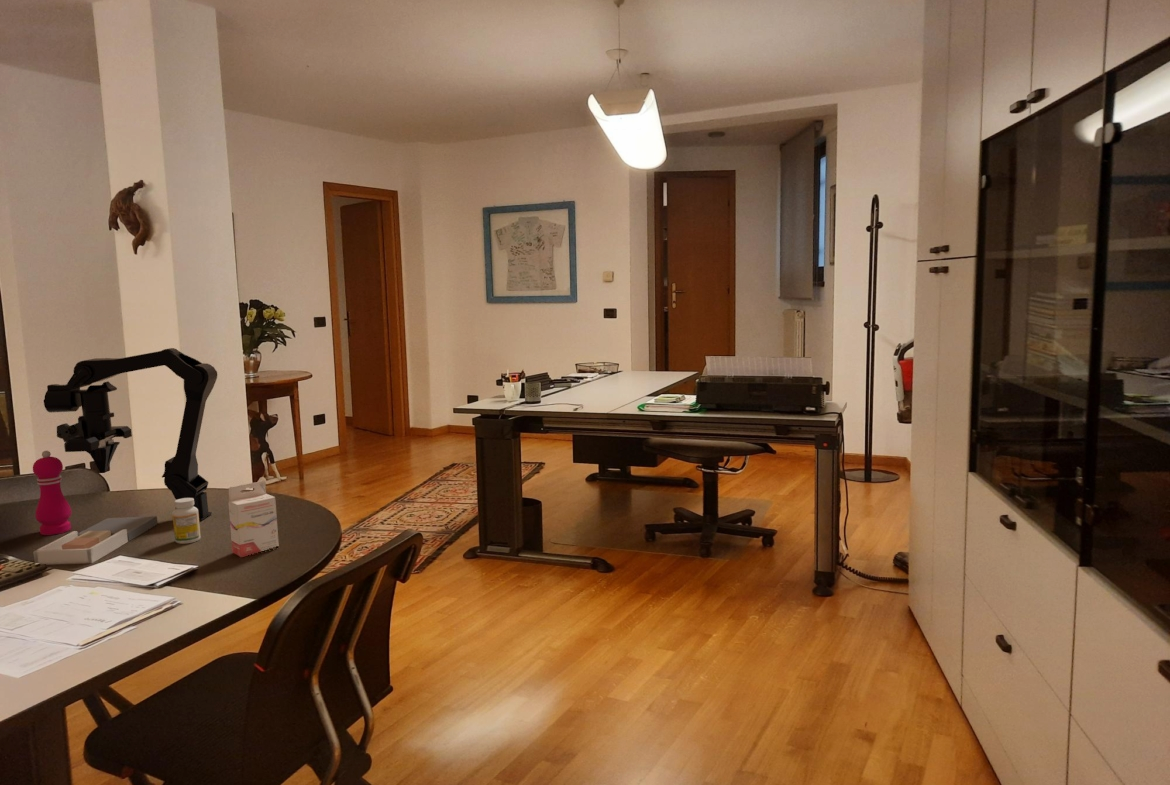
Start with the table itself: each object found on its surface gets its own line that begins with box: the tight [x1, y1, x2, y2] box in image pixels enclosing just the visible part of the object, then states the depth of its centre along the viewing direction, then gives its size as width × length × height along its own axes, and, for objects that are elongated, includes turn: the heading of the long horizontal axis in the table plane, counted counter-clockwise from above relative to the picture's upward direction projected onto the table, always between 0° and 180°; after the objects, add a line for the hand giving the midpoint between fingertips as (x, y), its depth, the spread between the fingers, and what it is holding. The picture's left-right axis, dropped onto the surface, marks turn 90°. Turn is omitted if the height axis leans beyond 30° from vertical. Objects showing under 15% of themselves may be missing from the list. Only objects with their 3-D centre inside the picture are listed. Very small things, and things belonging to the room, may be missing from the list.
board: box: [77, 515, 159, 542], centre depth 190 cm, size 12×13×2 cm
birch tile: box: [75, 531, 111, 543], centre depth 180 cm, size 5×5×2 cm
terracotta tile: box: [62, 537, 99, 549], centre depth 175 cm, size 5×5×2 cm
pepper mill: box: [32, 450, 72, 536], centre depth 192 cm, size 7×7×20 cm
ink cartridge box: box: [228, 480, 280, 558], centre depth 173 cm, size 9×5×15 cm, turn 135°
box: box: [32, 529, 129, 566], centre depth 176 cm, size 12×14×3 cm
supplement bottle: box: [171, 498, 202, 545], centre depth 182 cm, size 5×5×10 cm
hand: (103, 472), depth 196 cm, fingers closed
